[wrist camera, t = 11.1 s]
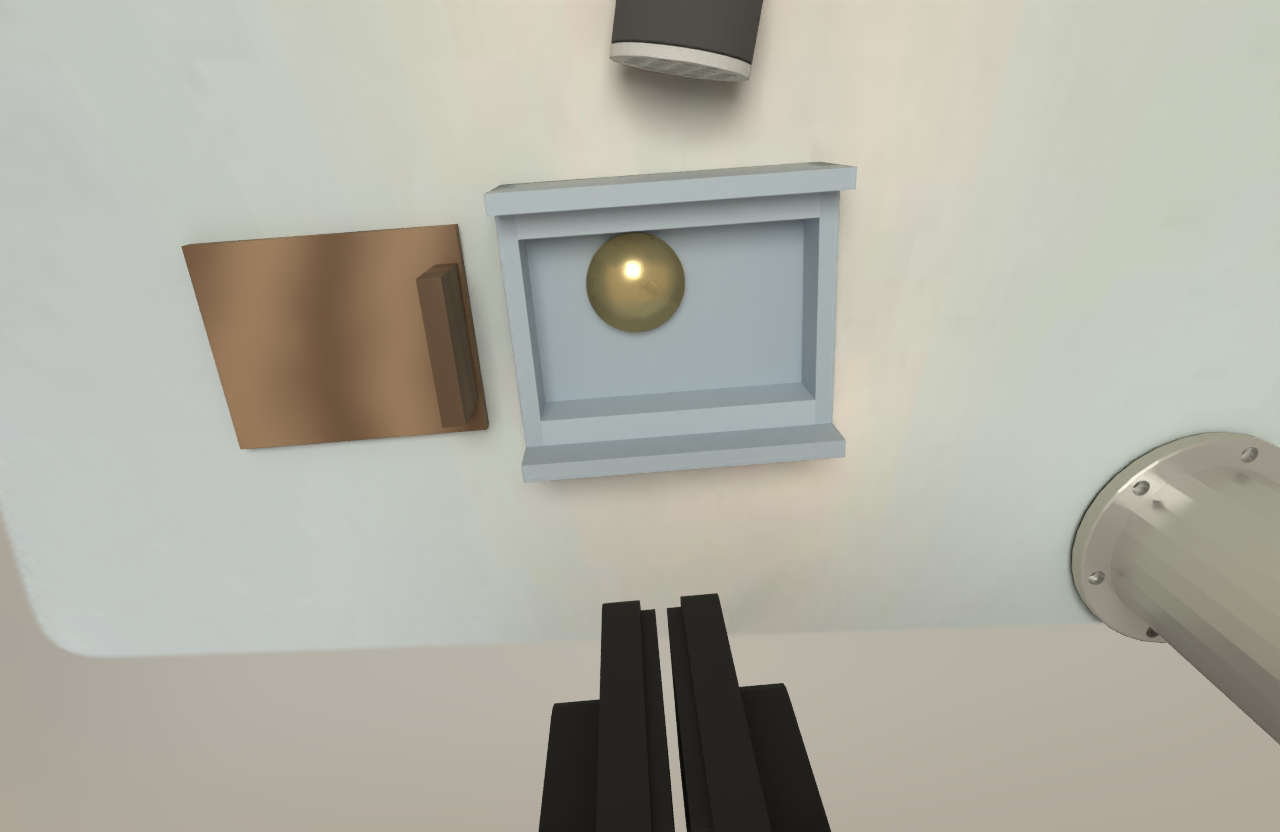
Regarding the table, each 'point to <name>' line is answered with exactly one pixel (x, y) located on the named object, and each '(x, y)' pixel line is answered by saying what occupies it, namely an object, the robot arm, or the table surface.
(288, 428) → the cover plate
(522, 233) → the light grey open box
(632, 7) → the flashlight
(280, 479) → the table surface
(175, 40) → the table surface
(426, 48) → the table surface
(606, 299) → the brass disc
